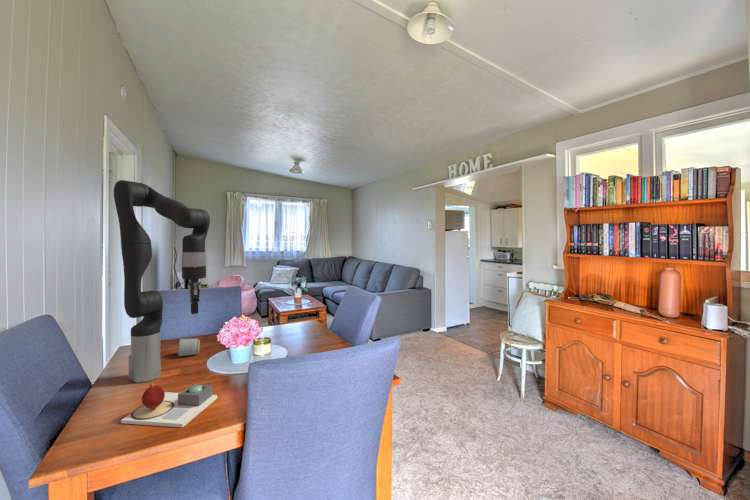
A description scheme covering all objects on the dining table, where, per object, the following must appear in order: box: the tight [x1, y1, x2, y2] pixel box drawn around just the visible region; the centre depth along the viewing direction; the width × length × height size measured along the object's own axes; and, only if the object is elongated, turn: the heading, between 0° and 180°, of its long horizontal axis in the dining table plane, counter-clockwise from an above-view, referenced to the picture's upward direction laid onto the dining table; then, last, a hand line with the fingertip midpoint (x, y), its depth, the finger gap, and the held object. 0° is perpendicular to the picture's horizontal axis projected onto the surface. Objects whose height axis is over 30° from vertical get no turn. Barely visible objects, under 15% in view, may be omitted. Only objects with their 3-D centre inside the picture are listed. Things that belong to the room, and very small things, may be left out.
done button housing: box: [178, 383, 213, 406], centre depth 105 cm, size 7×7×4 cm
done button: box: [189, 384, 202, 393], centre depth 105 cm, size 4×4×3 cm
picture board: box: [120, 391, 218, 428], centre depth 101 cm, size 20×17×1 cm
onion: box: [141, 383, 166, 410], centre depth 99 cm, size 6×6×8 cm
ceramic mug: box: [177, 338, 201, 357], centre depth 149 cm, size 11×8×8 cm
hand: (194, 313), depth 114 cm, fingers closed
